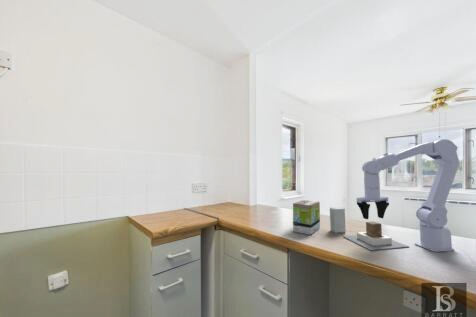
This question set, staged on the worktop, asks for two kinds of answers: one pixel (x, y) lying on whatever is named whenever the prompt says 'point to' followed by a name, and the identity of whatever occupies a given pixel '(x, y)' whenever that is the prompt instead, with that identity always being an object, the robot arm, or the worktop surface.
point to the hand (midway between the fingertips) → (373, 218)
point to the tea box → (306, 216)
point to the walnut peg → (373, 229)
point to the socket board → (375, 242)
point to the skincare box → (337, 219)
